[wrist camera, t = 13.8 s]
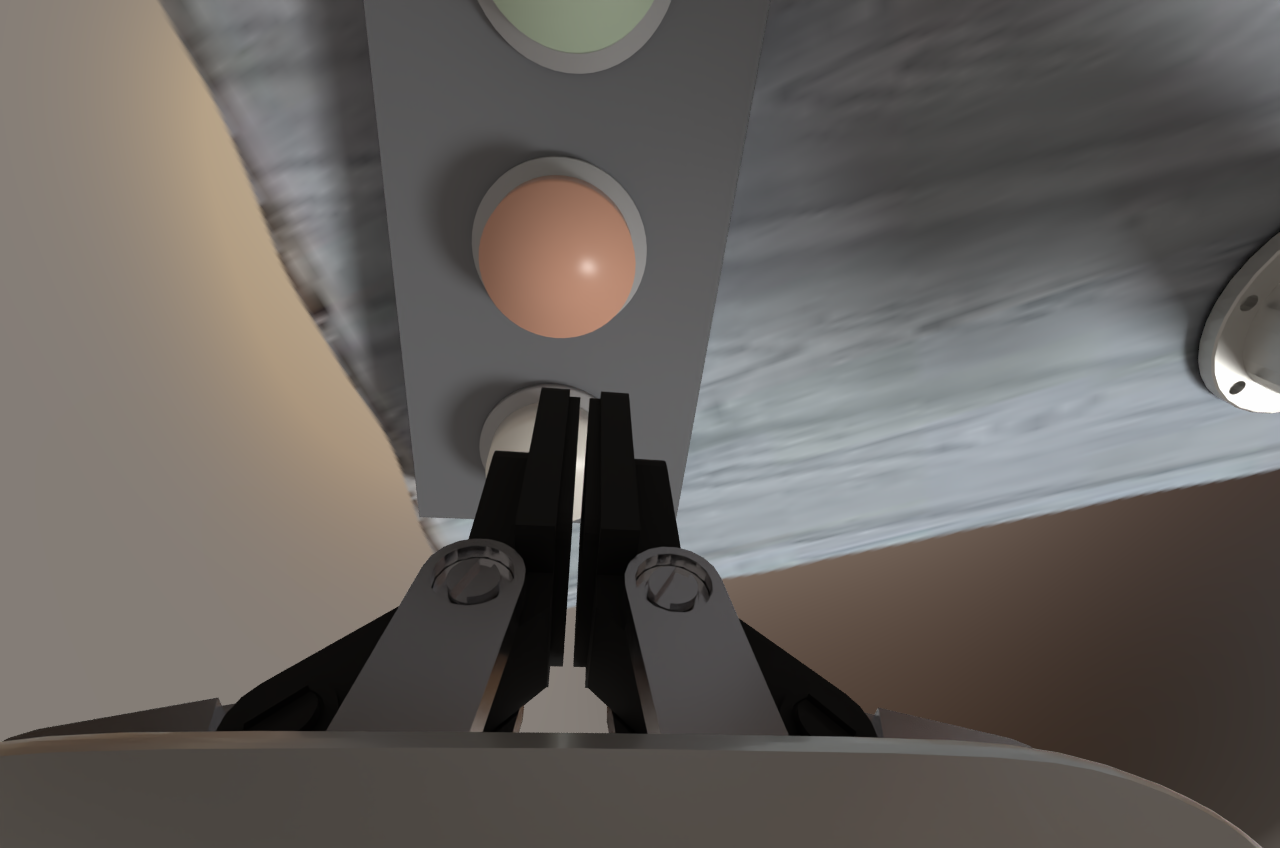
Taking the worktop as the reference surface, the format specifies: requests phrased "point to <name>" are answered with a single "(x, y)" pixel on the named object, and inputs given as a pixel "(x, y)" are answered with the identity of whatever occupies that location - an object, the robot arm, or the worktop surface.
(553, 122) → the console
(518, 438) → the button white
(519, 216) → the button terracotta
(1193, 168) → the worktop surface
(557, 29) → the button green
